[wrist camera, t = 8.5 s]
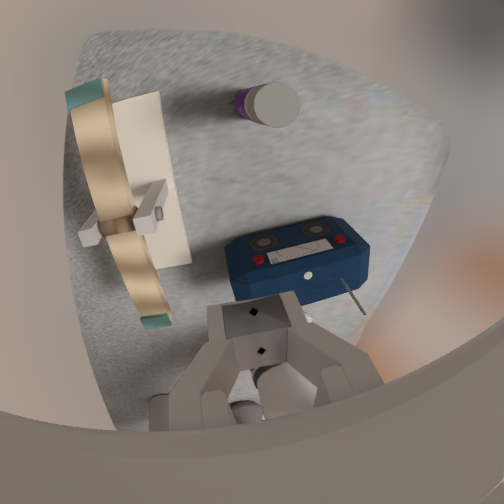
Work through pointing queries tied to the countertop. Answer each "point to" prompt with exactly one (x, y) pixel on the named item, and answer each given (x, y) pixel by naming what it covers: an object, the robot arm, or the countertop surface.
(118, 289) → the countertop surface
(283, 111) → the container
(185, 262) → the stand
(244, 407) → the coffee pot
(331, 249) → the radio
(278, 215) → the countertop surface
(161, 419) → the cylinder vase
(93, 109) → the beam
